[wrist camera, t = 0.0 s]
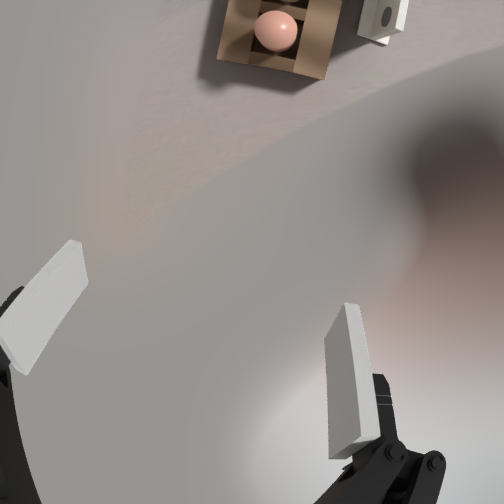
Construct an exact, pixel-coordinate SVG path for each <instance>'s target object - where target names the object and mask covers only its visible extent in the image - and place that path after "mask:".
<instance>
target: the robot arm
mask: <svg viewBox="0 0 504 504" xmlns="http://www.w3.org/2000/svg"><path fill="white" fill-rule="evenodd" d="M88 284H89V283H88V278H87V273H86V268H85V262H84V257H83V251H82V245H81V242H78V241H74V240H71V239H70V240H69V241H68V242H67V243H66V244H65V245H64V246H63V247H62V248H61V249H60V250H59V251H58V252H57V253H56V254H55V255H54V256H53V257H52V258H51V259H50V260H49V261H48V262H47V263H46V265H44V267H43V268H42V269H41V270H40V271H39V272H38V273H37V274H36V275H35V277H34V278H33V279H32V280H31V281H30V282H29V283H28V284H27V286H26V287H23V286H21V287H19V288H18V289H17V290H15V291H14V292H12V293H11V295H10V296H9V297H8V298H7V301H5V302H4V303H3V304H2V307H0V504H42V503H41V501H40V498H39V496H38V493H37V490H36V488H35V485H34V482H33V479H32V476H31V472H30V469H29V466H28V463H27V459H26V456H25V452H24V448H23V444H22V440H21V435H20V431H19V426H18V422H17V416H16V410H15V405H14V398H13V391H12V383H11V373H10V369H9V364H10V362H11V363H12V364H13V366H14V367H15V368H16V370H18V371H20V372H21V373H23V374H25V375H26V376H27V375H28V374H29V372H30V370H31V368H32V367H33V365H34V363H35V362H36V360H37V358H38V357H39V355H40V353H41V352H42V350H43V349H44V347H45V346H46V344H47V342H48V341H49V339H50V338H51V336H52V335H53V333H54V332H55V330H56V329H57V327H58V325H59V324H60V323H61V321H62V320H63V318H64V317H65V315H66V314H67V313H68V311H69V309H70V308H71V307H72V306H73V304H74V303H75V301H76V300H77V298H78V297H79V296H80V294H81V293H82V292H83V290H84V289H85V288H86V286H87V285H88ZM324 344H325V359H326V374H327V397H328V433H329V459H347V458H348V457H350V456H352V459H353V462H352V463H350V464H348V465H347V466H345V467H344V468H343V470H345V471H344V472H343V473H342V474H341V475H340V476H339V478H338V479H337V480H336V481H335V482H334V483H333V484H332V485H331V486H330V487H329V488H328V490H327V491H326V492H325V493H324V494H323V495H322V496H321V497H320V498H319V499H318V500H317V501H316V502H315V503H314V504H436V502H437V499H438V496H439V492H440V489H441V485H442V481H443V478H444V474H445V469H446V461H445V457H444V456H443V455H442V454H441V453H440V452H439V451H434V450H433V451H430V452H428V453H426V454H421V453H417V452H413V451H410V450H407V449H406V447H405V445H404V444H403V443H402V442H401V441H399V440H398V437H397V431H396V424H395V417H394V411H393V406H392V399H391V397H390V396H391V393H390V388H389V384H388V382H387V380H386V379H385V377H384V375H383V374H372V370H371V364H370V359H369V353H368V348H367V343H366V338H365V333H364V327H363V323H362V318H361V313H360V309H359V305H356V304H351V303H346V302H344V304H343V306H342V308H341V309H340V312H339V313H338V315H337V317H336V319H335V321H334V323H333V324H332V326H331V328H330V330H329V332H328V333H327V335H326V337H325V339H324Z"/></svg>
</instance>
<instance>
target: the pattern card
mask: <svg viewBox="0 0 504 504" xmlns="http://www.w3.org/2000/svg"><path fill="white" fill-rule="evenodd" d="M408 2H409V0H364V1H363V6H362V11H361V16H360V20H359V25H358V29H357V34H356V35H359V36H362V37H365V38H368V39H371V40H373V41H376V42H379V43H381V44H384V45H388V41H389V37H390V35H393V34H396V33H399V32H402V31H403V28H404V23H405V18H406V13H407V8H408Z"/></svg>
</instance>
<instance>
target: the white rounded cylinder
mask: <svg viewBox="0 0 504 504" xmlns="http://www.w3.org/2000/svg"><path fill="white" fill-rule="evenodd" d="M280 1H283V2H296V1H299V0H280Z"/></svg>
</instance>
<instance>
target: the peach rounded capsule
mask: <svg viewBox="0 0 504 504" xmlns="http://www.w3.org/2000/svg"><path fill="white" fill-rule="evenodd" d="M254 31H255V35H256V37H257V38H258V40H259V41H260V42H261V44H262V45H263V46H264V47H265V48H266V49H268V50H270V51H274V52H282V51H286V50H288V49H289V48H291V47H292V46H293V44H294V42H295V40H296V35H297V24H296V22H295V20H294V19H293V18H292V17H291V16H290V15H288V14H287V13H285V12H281V11H269V12H266V13H264V14H262V15H261V16H260V17H259V18H258V19H257V20H256V22H255V26H254Z"/></svg>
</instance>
